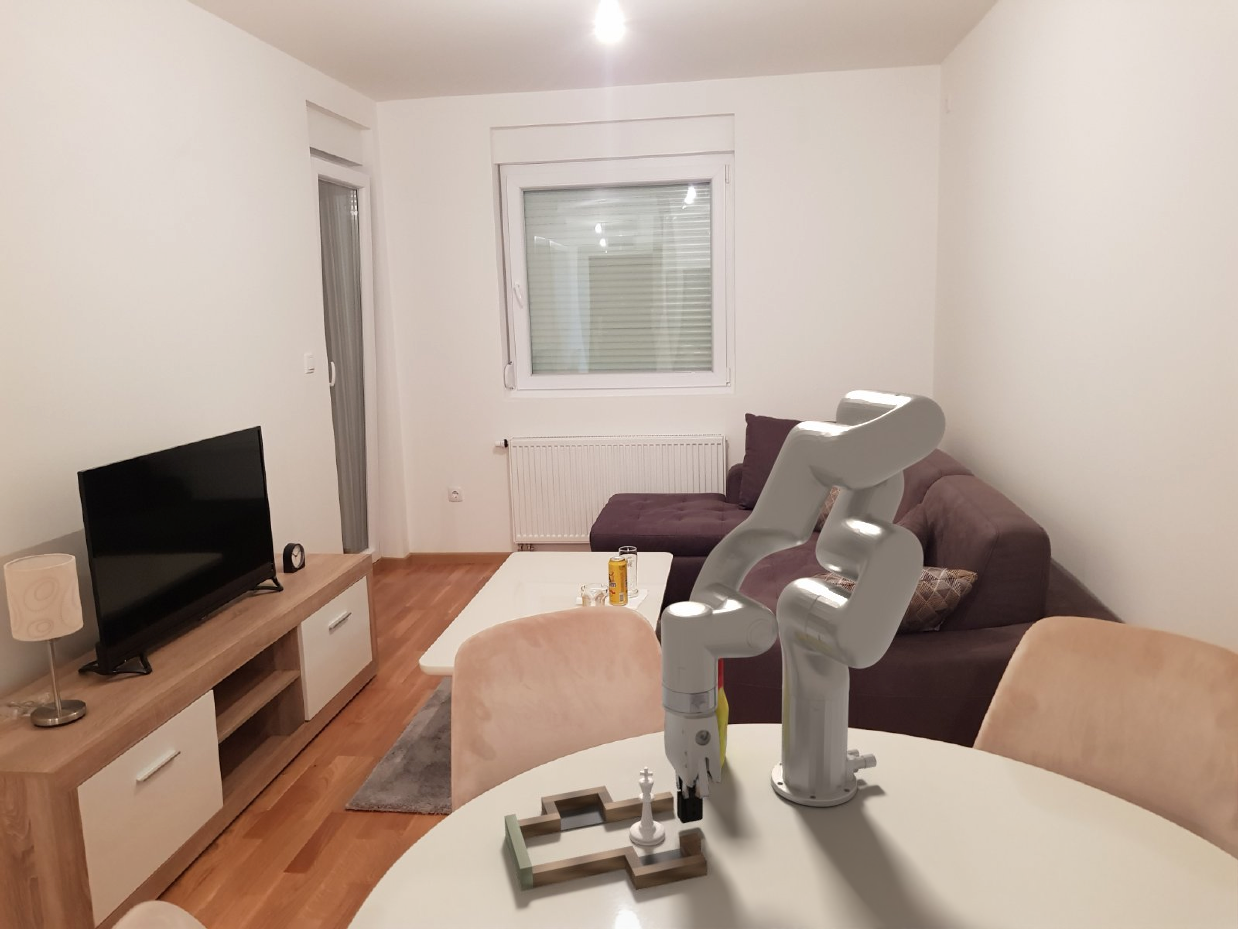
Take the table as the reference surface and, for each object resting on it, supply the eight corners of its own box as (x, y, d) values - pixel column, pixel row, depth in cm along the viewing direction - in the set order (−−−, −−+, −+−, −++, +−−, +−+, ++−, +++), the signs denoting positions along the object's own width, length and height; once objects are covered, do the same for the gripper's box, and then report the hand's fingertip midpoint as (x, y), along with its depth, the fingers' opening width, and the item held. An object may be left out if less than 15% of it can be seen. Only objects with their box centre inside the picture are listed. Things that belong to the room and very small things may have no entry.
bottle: (733, 778, 134) (733, 654, 131) (691, 780, 134) (690, 655, 131) (723, 740, 146) (723, 625, 142) (684, 741, 146) (683, 626, 142)
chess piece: (662, 847, 118) (661, 779, 116) (626, 844, 119) (624, 775, 117) (667, 826, 123) (666, 760, 121) (632, 823, 124) (631, 757, 122)
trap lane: (660, 788, 132) (659, 769, 132) (714, 873, 112) (714, 852, 112) (500, 817, 126) (499, 798, 125) (528, 914, 106) (527, 891, 105)
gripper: (738, 714, 113) (737, 844, 116) (695, 669, 127) (695, 786, 130) (683, 723, 111) (683, 855, 114) (645, 676, 125) (647, 795, 128)
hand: (689, 818), depth 122 cm, fingers closed
